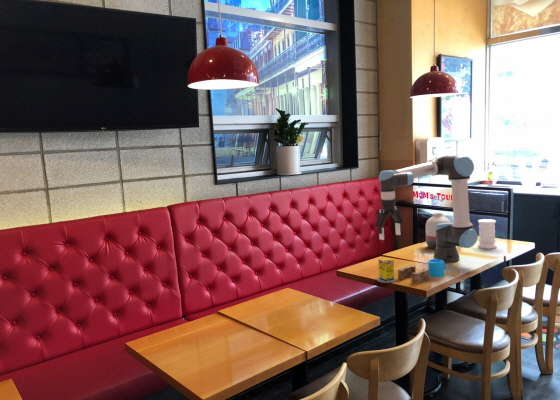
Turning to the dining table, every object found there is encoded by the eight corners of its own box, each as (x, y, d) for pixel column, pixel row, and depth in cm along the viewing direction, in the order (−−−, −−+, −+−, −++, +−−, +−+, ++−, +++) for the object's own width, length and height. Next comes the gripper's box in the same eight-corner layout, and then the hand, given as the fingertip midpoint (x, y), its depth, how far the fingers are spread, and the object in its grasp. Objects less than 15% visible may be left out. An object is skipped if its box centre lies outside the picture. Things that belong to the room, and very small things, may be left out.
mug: (437, 278, 240) (437, 263, 239) (425, 275, 247) (424, 261, 246) (451, 273, 246) (451, 259, 245) (439, 271, 253) (438, 257, 252)
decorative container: (482, 244, 309) (481, 218, 307) (499, 246, 300) (499, 219, 298) (474, 247, 301) (474, 221, 299) (492, 249, 293) (492, 222, 291)
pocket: (411, 274, 250) (410, 265, 249) (429, 278, 240) (429, 269, 240) (398, 278, 244) (398, 269, 243) (416, 283, 234) (416, 274, 233)
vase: (424, 245, 317) (423, 212, 314) (448, 244, 314) (448, 211, 312) (428, 250, 300) (427, 216, 298) (454, 249, 298) (454, 215, 295)
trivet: (385, 276, 249) (385, 275, 249) (399, 280, 241) (399, 278, 241) (373, 280, 244) (373, 279, 243) (387, 284, 235) (387, 283, 235)
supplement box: (386, 281, 238) (385, 261, 237) (378, 278, 244) (378, 259, 242) (394, 279, 241) (393, 259, 240) (386, 276, 246) (386, 257, 245)
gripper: (397, 195, 250) (399, 232, 253) (367, 201, 236) (369, 240, 238) (408, 196, 244) (410, 233, 247) (377, 202, 230) (380, 242, 232)
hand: (390, 237), depth 243 cm, fingers open, 13 cm apart
